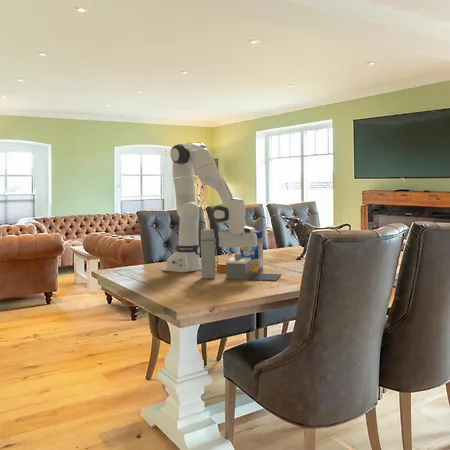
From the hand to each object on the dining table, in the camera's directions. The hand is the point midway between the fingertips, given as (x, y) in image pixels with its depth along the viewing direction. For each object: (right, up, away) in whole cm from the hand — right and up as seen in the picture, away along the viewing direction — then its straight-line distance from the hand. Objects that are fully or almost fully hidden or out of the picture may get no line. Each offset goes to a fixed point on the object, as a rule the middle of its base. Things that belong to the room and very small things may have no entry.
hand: (238, 255), depth 244 cm
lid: (0, -4, +1) cm, 4 cm away
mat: (+14, -11, -3) cm, 18 cm away
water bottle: (-15, -12, 0) cm, 19 cm away
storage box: (0, -11, +1) cm, 11 cm away
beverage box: (+8, -10, +18) cm, 22 cm away
